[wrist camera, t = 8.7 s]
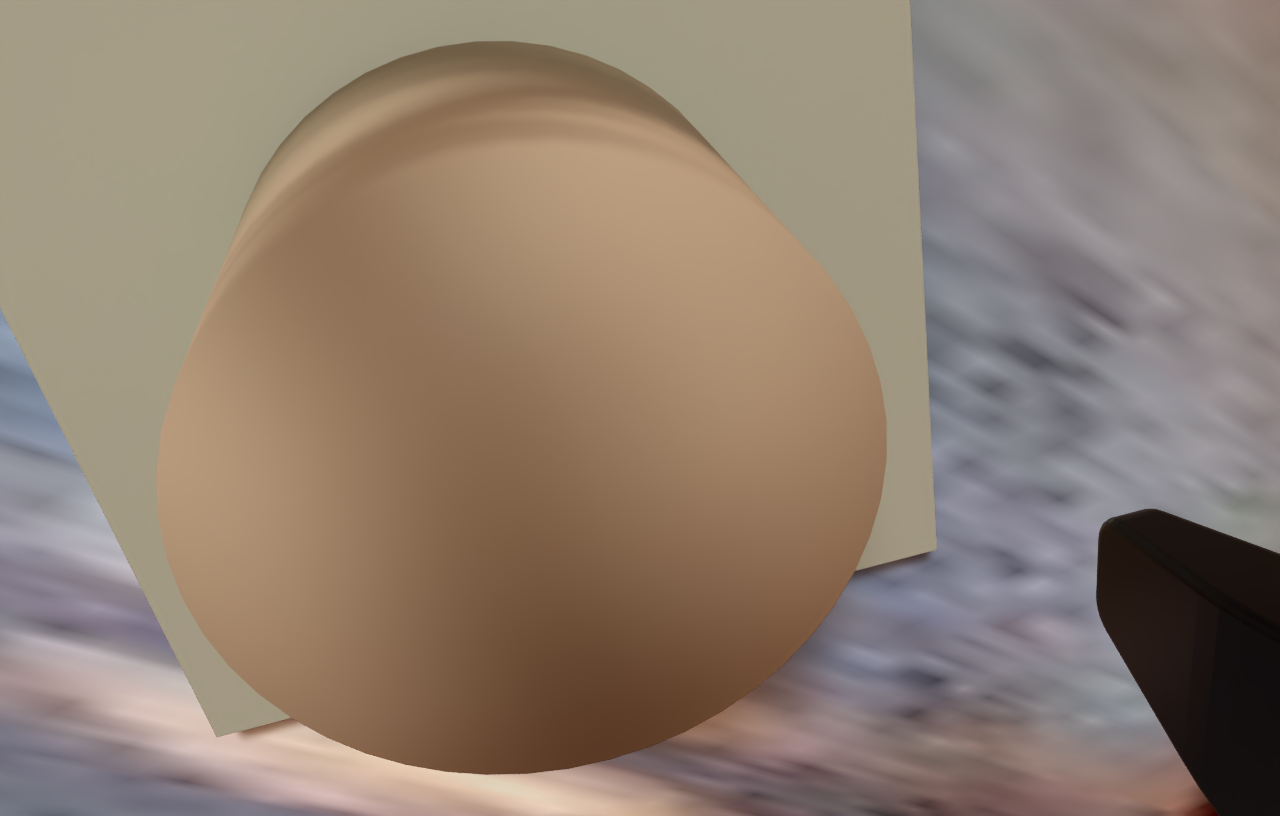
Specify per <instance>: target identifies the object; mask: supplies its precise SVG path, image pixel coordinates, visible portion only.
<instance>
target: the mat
mask: <svg viewBox="0 0 1280 816" xmlns="http://www.w3.org/2000/svg"><path fill="white" fill-rule="evenodd" d="M474 41H516V42H524V43H532V44H540V45H548V46H553V47H556V48H560V49H564V50H568V51H571V52H575V53H579V54H583V55H586V56H589V57H591V58H593V59H596V60H598V61H601V62H603V63H605V64H608V65H610V66H612V67H615V68H617V69H620V70H621V71H623V72H625V73H626V74H628V75H630V76H631V77H633V78H635V79H637V80H638V81H640V82H642V83H643V84H645V85H647V86H648V87H650V88H651V89H653V90H654V91H655V92H656V93H658V94H659V95H660V96H661V97H663V98H664V99H665V100H666V101H668V102H669V103H670V104H671V105H673V106H674V107H675V108H676V109H678V110H679V111H680V113H681V114H682V115H683V116H684V117H685V118H686V119H687V120H688V121H689V122H690V123H691V124H692V125H693V126H694V127H695V128H696V129H697V130H698V131H699V132H700V134H701V135H702V136H703V137H704V138H705V139H706V140H707V141H708V142H709V143H710V145H711V146H712V147H713V148H714V149H715V150H716V151H717V152H718V153H719V154H720V156H721V157H722V158H723V159H724V160H725V161H726V162H727V163H728V164H729V165H730V167H731V168H732V169H733V170H734V171H735V172H736V173H737V174H738V175H739V176H740V177H741V179H742V180H743V181H744V182H745V183H746V184H747V185H748V186H749V187H750V188H751V190H752V191H753V192H754V193H755V194H756V195H757V196H758V197H759V198H760V199H761V201H762V202H763V203H764V204H765V205H766V206H767V207H768V208H769V209H770V210H771V212H772V213H773V214H774V215H775V216H776V217H777V218H778V219H779V220H780V221H781V223H782V224H783V225H784V226H785V227H786V228H787V229H788V230H789V231H790V232H791V234H792V235H793V236H794V237H795V238H796V239H797V240H798V241H799V242H800V243H801V245H802V246H803V247H804V248H805V249H806V250H807V251H808V252H809V253H810V254H811V256H812V257H813V258H814V259H815V260H816V261H817V262H818V263H819V264H820V265H821V267H822V268H823V269H824V270H825V271H826V272H827V274H828V275H829V276H830V278H831V279H832V281H833V282H834V284H835V285H836V286H837V288H838V289H839V291H840V292H841V294H842V295H843V297H844V298H845V299H846V301H847V302H848V304H849V305H850V307H851V308H852V310H853V313H854V315H855V317H856V319H857V321H858V323H859V325H860V327H861V329H862V331H863V333H864V335H865V337H866V339H867V341H868V343H869V346H870V349H871V352H872V356H873V359H874V362H875V365H876V368H877V372H878V375H879V378H880V381H881V387H882V393H883V400H884V407H885V414H886V420H887V462H886V469H885V475H884V482H883V489H882V496H881V501H880V504H879V508H878V511H877V515H876V518H875V522H874V525H873V528H872V532H871V535H870V538H869V540H868V542H867V545H866V547H865V549H864V551H863V554H862V556H861V558H860V561H859V563H858V565H857V567H856V570H855V571H857V570H861V569H864V568H868V567H872V566H876V565H880V564H884V563H887V562H891V561H895V560H899V559H903V558H907V557H911V556H914V555H918V554H922V553H926V552H930V551H934V550H937V546H936V525H935V505H934V484H933V464H932V444H931V423H930V403H929V383H928V362H927V342H926V321H925V301H924V281H923V260H922V240H921V219H920V199H919V179H918V158H917V138H916V118H915V97H914V77H913V56H912V36H911V16H910V0H0V309H1V311H2V313H3V315H4V317H5V319H6V321H7V323H8V325H9V327H10V328H11V330H12V332H13V334H14V336H15V338H16V340H17V342H18V344H19V346H20V348H21V350H22V352H23V354H24V356H25V358H26V360H27V362H28V364H29V366H30V368H31V370H32V372H33V374H34V376H35V378H36V380H37V382H38V384H39V386H40V388H41V390H42V392H43V394H44V396H45V398H46V400H47V402H48V404H49V406H50V408H51V410H52V412H53V414H54V416H55V418H56V420H57V422H58V424H59V426H60V428H61V430H62V432H63V433H64V435H65V437H66V439H67V441H68V443H69V445H70V447H71V449H72V451H73V453H74V455H75V457H76V459H77V461H78V463H79V465H80V467H81V469H82V471H83V473H84V475H85V477H86V479H87V481H88V483H89V485H90V487H91V489H92V491H93V493H94V495H95V497H96V499H97V501H98V503H99V505H100V507H101V509H102V511H103V513H104V515H105V517H106V519H107V521H108V523H109V525H110V527H111V529H112V531H113V533H114V535H115V537H116V538H117V540H118V542H119V544H120V546H121V548H122V550H123V552H124V554H125V556H126V558H127V560H128V562H129V564H130V566H131V568H132V570H133V572H134V574H135V576H136V578H137V580H138V582H139V584H140V586H141V588H142V590H143V592H144V594H145V596H146V598H147V600H148V602H149V604H150V606H151V608H152V610H153V612H154V614H155V616H156V618H157V620H158V622H159V624H160V626H161V628H162V630H163V632H164V634H165V636H166V638H167V640H168V642H169V643H170V645H171V647H172V649H173V651H174V653H175V655H176V657H177V659H178V661H179V663H180V665H181V667H182V669H183V671H184V673H185V675H186V677H187V679H188V681H189V683H190V685H191V687H192V689H193V691H194V693H195V695H196V697H197V699H198V701H199V703H200V705H201V707H202V709H203V711H204V713H205V715H206V717H207V719H208V721H209V723H210V725H211V727H212V729H213V731H214V733H215V735H216V737H220V736H224V735H228V734H231V733H235V732H239V731H243V730H247V729H251V728H254V727H258V726H262V725H266V724H270V723H274V722H277V721H281V720H285V719H289V718H291V717H289V716H288V715H287V714H285V713H284V712H283V711H281V710H280V709H278V708H277V707H276V706H274V705H273V704H271V703H270V702H269V701H267V700H266V699H265V698H263V697H262V696H260V695H259V694H258V693H257V692H256V691H255V690H254V689H252V688H251V687H250V686H249V685H248V684H247V683H246V682H245V681H244V680H243V679H242V678H241V677H240V676H239V675H238V674H237V673H236V672H235V671H233V670H232V669H231V668H230V667H229V666H228V665H227V663H226V662H225V661H224V660H223V658H222V657H221V656H220V655H219V653H218V652H217V651H216V650H215V648H214V647H213V646H212V645H211V643H210V642H209V641H208V640H207V638H206V637H205V636H204V635H203V633H202V631H201V630H200V628H199V626H198V625H197V623H196V621H195V619H194V618H193V616H192V614H191V612H190V611H189V609H188V607H187V606H186V604H185V602H184V600H183V599H182V596H181V594H180V591H179V589H178V586H177V584H176V581H175V579H174V576H173V573H172V571H171V568H170V566H169V563H168V561H167V557H166V552H165V548H164V543H163V538H162V534H161V529H160V524H159V520H158V505H157V485H156V470H157V462H158V453H159V445H160V436H161V429H162V426H163V422H164V419H165V415H166V412H167V408H168V405H169V401H170V398H171V394H172V391H173V387H174V384H175V382H176V379H177V377H178V374H179V372H180V369H181V367H182V364H183V362H184V359H185V357H186V354H187V352H188V349H189V347H190V344H191V342H192V339H193V337H194V334H195V332H196V329H197V327H198V324H199V322H200V319H201V317H202V314H203V312H204V309H205V307H206V304H207V302H208V299H209V297H210V294H211V292H212V289H213V287H214V284H215V282H216V279H217V277H218V274H219V272H220V269H221V267H222V264H223V262H224V259H225V257H226V254H227V252H228V249H229V247H230V244H231V242H232V239H233V237H234V234H235V232H236V229H237V227H238V224H239V222H240V219H241V217H242V214H243V212H244V209H245V207H246V205H247V202H248V200H249V198H250V196H251V194H252V192H253V190H254V187H255V185H256V183H257V181H258V179H259V177H260V174H261V173H262V171H263V170H264V168H265V167H266V165H267V164H268V162H269V161H270V159H271V158H272V156H273V155H274V153H275V152H276V150H277V149H278V147H279V146H280V144H281V143H282V142H283V141H284V140H285V138H286V137H287V136H288V135H289V134H290V133H291V132H292V131H293V130H294V128H295V127H296V126H297V125H298V124H299V123H300V122H301V121H302V119H303V118H304V117H305V116H306V115H308V114H309V113H310V112H311V111H312V110H314V109H315V108H316V107H317V106H318V105H320V104H321V103H322V102H323V101H324V100H325V99H327V98H328V97H329V96H330V95H331V94H333V93H334V92H336V91H337V90H339V89H340V88H342V87H344V86H345V85H347V84H348V83H350V82H352V81H353V80H355V79H356V78H358V77H360V76H361V75H363V74H364V73H366V72H369V71H371V70H373V69H375V68H378V67H380V66H382V65H384V64H387V63H389V62H391V61H393V60H396V59H398V58H400V57H404V56H407V55H411V54H414V53H418V52H421V51H425V50H428V49H432V48H435V47H440V46H447V45H454V44H461V43H467V42H474Z"/></svg>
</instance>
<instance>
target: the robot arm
mask: <svg viewBox="0 0 1280 816" xmlns="http://www.w3.org/2000/svg"><path fill="white" fill-rule="evenodd" d="M1096 600H1097V607H1098V612H1099V615H1100V618H1101V621H1102V623H1103V626H1104V627H1105V629H1106V631H1107V633H1108V635H1109V636H1110V638H1111V640H1112V641H1113V643H1114V645H1115V647H1116V648H1117V650H1118V652H1119V653H1120V655H1121V657H1122V658H1123V660H1124V662H1125V664H1126V665H1127V667H1128V669H1129V670H1130V672H1131V674H1132V676H1133V677H1134V679H1135V681H1136V682H1137V684H1138V686H1139V688H1140V689H1141V691H1142V693H1143V694H1144V696H1145V698H1146V699H1147V701H1148V703H1149V705H1150V706H1151V708H1152V710H1153V711H1154V713H1155V715H1156V717H1157V718H1158V720H1159V722H1160V723H1161V725H1162V727H1163V728H1164V730H1165V732H1166V734H1167V735H1168V737H1169V739H1170V740H1171V742H1172V744H1173V746H1174V747H1175V749H1176V751H1177V752H1178V754H1179V756H1180V757H1181V759H1182V761H1183V763H1184V764H1185V766H1186V767H1187V769H1188V771H1189V772H1190V774H1191V775H1192V777H1193V779H1194V780H1195V782H1196V783H1197V785H1198V787H1199V788H1200V790H1201V791H1202V792H1203V794H1204V795H1205V797H1206V798H1207V800H1208V801H1209V802H1210V804H1211V805H1212V807H1213V808H1214V809H1215V811H1216V812H1217V814H1218V815H1219V816H1280V554H1279V553H1276V552H1273V551H1271V550H1268V549H1265V548H1262V547H1260V546H1257V545H1254V544H1251V543H1249V542H1246V541H1243V540H1241V539H1238V538H1235V537H1232V536H1230V535H1227V534H1224V533H1221V532H1219V531H1216V530H1213V529H1210V528H1208V527H1205V526H1202V525H1199V524H1197V523H1194V522H1191V521H1189V520H1186V519H1183V518H1180V517H1178V516H1175V515H1172V514H1169V513H1167V512H1164V511H1161V510H1157V509H1144V510H1140V511H1136V512H1132V513H1128V514H1125V515H1121V516H1117V517H1113V518H1110V519H1108V520H1107V521H1106V522H1104V523H1103V525H1102V527H1101V529H1100V532H1099V538H1098V564H1097V590H1096Z"/></svg>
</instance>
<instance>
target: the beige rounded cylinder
mask: <svg viewBox="0 0 1280 816" xmlns="http://www.w3.org/2000/svg"><path fill="white" fill-rule="evenodd" d="M886 462H887V420H886V414H885V407H884V400H883V393H882V387H881V381H880V378H879V375H878V372H877V368H876V365H875V362H874V359H873V356H872V352H871V349H870V346H869V343H868V341H867V339H866V337H865V335H864V333H863V331H862V329H861V327H860V325H859V323H858V321H857V319H856V317H855V315H854V313H853V310H852V308H851V307H850V305H849V304H848V302H847V301H846V299H845V298H844V297H843V295H842V294H841V292H840V291H839V289H838V288H837V286H836V285H835V284H834V282H833V281H832V279H831V278H830V276H829V275H828V274H827V272H826V271H825V270H824V269H823V268H822V267H821V265H820V264H819V263H818V262H817V261H816V260H815V259H814V258H813V257H812V256H811V254H810V253H809V252H808V251H807V250H806V249H805V248H804V247H803V246H802V245H801V243H800V242H799V241H798V240H797V239H796V238H795V237H794V236H793V235H792V234H791V232H790V231H789V230H788V229H787V228H786V227H785V226H784V225H783V224H782V223H781V221H780V220H779V219H778V218H777V217H776V216H775V215H774V214H773V213H772V212H771V210H770V209H769V208H768V207H767V206H766V205H765V204H764V203H763V202H762V201H761V199H760V198H759V197H758V196H757V195H756V194H755V193H754V192H753V191H752V190H751V188H750V187H749V186H748V185H747V184H746V183H745V182H744V181H743V180H742V179H741V177H740V176H739V175H738V174H737V173H736V172H735V171H734V170H733V169H732V168H731V167H730V165H729V164H728V163H727V162H726V161H725V160H724V159H723V158H722V157H721V156H720V154H719V153H718V152H717V151H716V150H715V149H714V148H713V147H712V146H711V145H710V143H709V142H708V141H707V140H706V139H705V138H704V137H703V136H702V135H701V134H700V132H699V131H698V130H697V129H696V128H695V127H694V126H693V125H692V124H691V123H690V122H689V121H688V120H687V119H686V118H685V117H684V116H683V115H682V114H681V113H680V111H679V110H678V109H676V108H675V107H674V106H673V105H671V104H670V103H669V102H668V101H666V100H665V99H664V98H663V97H661V96H660V95H659V94H658V93H656V92H655V91H654V90H653V89H651V88H650V87H648V86H647V85H645V84H643V83H642V82H640V81H638V80H637V79H635V78H633V77H631V76H630V75H628V74H626V73H625V72H623V71H621V70H620V69H617V68H615V67H612V66H610V65H608V64H605V63H603V62H601V61H598V60H596V59H593V58H591V57H589V56H586V55H583V54H579V53H575V52H571V51H568V50H564V49H560V48H556V47H553V46H548V45H540V44H532V43H524V42H516V41H474V42H467V43H461V44H454V45H447V46H440V47H435V48H432V49H428V50H425V51H421V52H418V53H414V54H411V55H407V56H404V57H400V58H398V59H396V60H393V61H391V62H389V63H387V64H384V65H382V66H380V67H378V68H375V69H373V70H371V71H369V72H366V73H364V74H363V75H361V76H360V77H358V78H356V79H355V80H353V81H352V82H350V83H348V84H347V85H345V86H344V87H342V88H340V89H339V90H337V91H336V92H334V93H333V94H331V95H330V96H329V97H328V98H327V99H325V100H324V101H323V102H322V103H321V104H320V105H318V106H317V107H316V108H315V109H314V110H312V111H311V112H310V113H309V114H308V115H306V116H305V117H304V118H303V119H302V121H301V122H300V123H299V124H298V125H297V126H296V127H295V128H294V130H293V131H292V132H291V133H290V134H289V135H288V136H287V137H286V138H285V140H284V141H283V142H282V143H281V144H280V146H279V147H278V149H277V150H276V152H275V153H274V155H273V156H272V158H271V159H270V161H269V162H268V164H267V165H266V167H265V168H264V170H263V171H262V173H261V174H260V177H259V179H258V181H257V183H256V185H255V187H254V190H253V192H252V194H251V196H250V198H249V200H248V202H247V205H246V207H245V209H244V212H243V214H242V217H241V219H240V222H239V224H238V227H237V229H236V232H235V234H234V237H233V239H232V242H231V244H230V247H229V249H228V252H227V254H226V257H225V259H224V262H223V264H222V267H221V269H220V272H219V274H218V277H217V279H216V282H215V284H214V287H213V289H212V292H211V294H210V297H209V299H208V302H207V304H206V307H205V309H204V312H203V314H202V317H201V319H200V322H199V324H198V327H197V329H196V332H195V334H194V337H193V339H192V342H191V344H190V347H189V349H188V352H187V354H186V357H185V359H184V362H183V364H182V367H181V369H180V372H179V374H178V377H177V379H176V382H175V384H174V387H173V391H172V394H171V398H170V401H169V405H168V408H167V412H166V415H165V419H164V422H163V426H162V429H161V436H160V445H159V453H158V462H157V470H156V485H157V505H158V520H159V524H160V529H161V534H162V538H163V543H164V548H165V552H166V557H167V561H168V563H169V566H170V568H171V571H172V573H173V576H174V579H175V581H176V584H177V586H178V589H179V591H180V594H181V596H182V599H183V600H184V602H185V604H186V606H187V607H188V609H189V611H190V612H191V614H192V616H193V618H194V619H195V621H196V623H197V625H198V626H199V628H200V630H201V631H202V633H203V635H204V636H205V637H206V638H207V640H208V641H209V642H210V643H211V645H212V646H213V647H214V648H215V650H216V651H217V652H218V653H219V655H220V656H221V657H222V658H223V660H224V661H225V662H226V663H227V665H228V666H229V667H230V668H231V669H232V670H233V671H235V672H236V673H237V674H238V675H239V676H240V677H241V678H242V679H243V680H244V681H245V682H246V683H247V684H248V685H249V686H250V687H251V688H252V689H254V690H255V691H256V692H257V693H258V694H259V695H260V696H262V697H263V698H265V699H266V700H267V701H269V702H270V703H271V704H273V705H274V706H276V707H277V708H278V709H280V710H281V711H283V712H284V713H285V714H287V715H288V716H289V717H291V718H292V719H294V720H296V721H298V722H300V723H302V724H303V725H305V726H307V727H309V728H311V729H312V730H314V731H316V732H318V733H320V734H322V735H323V736H325V737H327V738H329V739H332V740H334V741H337V742H339V743H342V744H344V745H346V746H349V747H351V748H354V749H356V750H359V751H361V752H364V753H366V754H370V755H373V756H377V757H380V758H384V759H388V760H391V761H395V762H398V763H402V764H405V765H411V766H417V767H422V768H428V769H434V770H440V771H445V772H458V773H472V774H486V775H489V774H527V773H536V772H544V771H553V770H561V769H569V768H574V767H578V766H583V765H587V764H592V763H596V762H601V761H606V760H610V759H613V758H616V757H619V756H622V755H626V754H629V753H632V752H635V751H638V750H641V749H644V748H647V747H650V746H652V745H655V744H657V743H659V742H662V741H664V740H666V739H669V738H671V737H673V736H676V735H678V734H680V733H683V732H685V731H687V730H689V729H691V728H692V727H694V726H696V725H698V724H700V723H702V722H703V721H705V720H707V719H709V718H711V717H713V716H714V715H716V714H718V713H720V712H722V711H723V710H724V709H726V708H727V707H729V706H730V705H732V704H733V703H735V702H736V701H738V700H739V699H741V698H742V697H743V696H745V695H746V694H748V693H749V692H751V691H752V690H754V689H755V688H756V687H757V686H759V685H760V684H761V683H762V682H763V681H764V680H766V679H767V678H768V677H769V676H770V675H772V674H773V673H774V672H775V671H776V670H777V669H779V668H780V667H781V666H782V665H783V664H785V662H786V661H787V660H788V659H789V658H790V657H791V656H792V655H793V654H794V653H795V652H796V651H797V650H798V649H799V648H800V647H801V646H802V645H803V644H804V643H805V642H806V641H807V639H808V638H809V637H810V636H811V635H812V634H813V633H814V631H815V630H816V629H817V627H818V626H819V625H820V624H821V622H822V621H823V620H824V618H825V617H826V616H827V614H828V613H829V612H830V610H831V609H832V608H833V607H834V605H835V604H836V602H837V600H838V599H839V597H840V595H841V594H842V592H843V590H844V589H845V587H846V585H847V584H848V582H849V580H850V579H851V577H852V575H853V573H854V572H855V570H856V567H857V565H858V563H859V561H860V558H861V556H862V554H863V551H864V549H865V547H866V545H867V542H868V540H869V538H870V535H871V532H872V528H873V525H874V522H875V518H876V515H877V511H878V508H879V504H880V501H881V496H882V489H883V482H884V475H885V469H886Z"/></svg>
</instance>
